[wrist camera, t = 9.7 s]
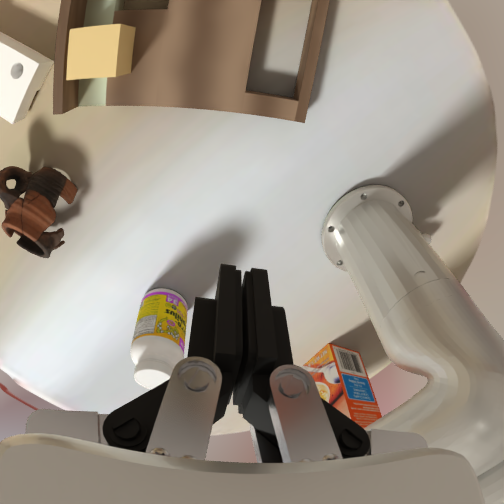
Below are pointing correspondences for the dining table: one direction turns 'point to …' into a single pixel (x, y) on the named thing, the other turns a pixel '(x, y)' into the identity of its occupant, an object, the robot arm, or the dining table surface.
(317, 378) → the orange cereal box
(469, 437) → the robot arm
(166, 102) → the box
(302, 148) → the dining table surface
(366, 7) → the dining table surface
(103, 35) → the block
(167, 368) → the supplement bottle
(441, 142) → the dining table surface
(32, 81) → the bracket
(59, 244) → the pottery mug
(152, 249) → the dining table surface
